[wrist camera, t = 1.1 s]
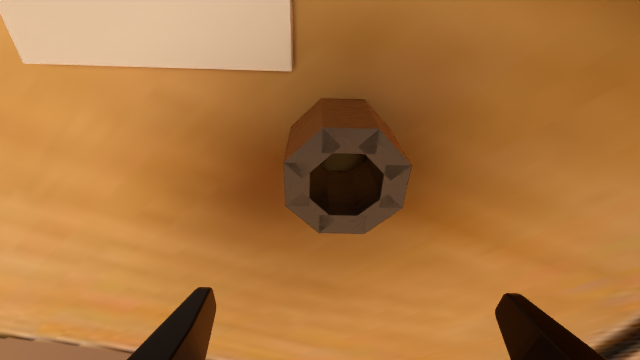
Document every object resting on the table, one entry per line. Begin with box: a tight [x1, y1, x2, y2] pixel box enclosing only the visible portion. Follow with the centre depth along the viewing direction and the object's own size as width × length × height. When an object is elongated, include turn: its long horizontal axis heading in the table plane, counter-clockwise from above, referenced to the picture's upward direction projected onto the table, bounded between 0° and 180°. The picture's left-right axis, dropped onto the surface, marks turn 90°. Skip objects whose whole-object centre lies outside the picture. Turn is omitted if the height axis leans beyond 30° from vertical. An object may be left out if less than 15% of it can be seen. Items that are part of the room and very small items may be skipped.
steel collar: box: [284, 98, 412, 234], centre depth 17 cm, size 6×6×5 cm
